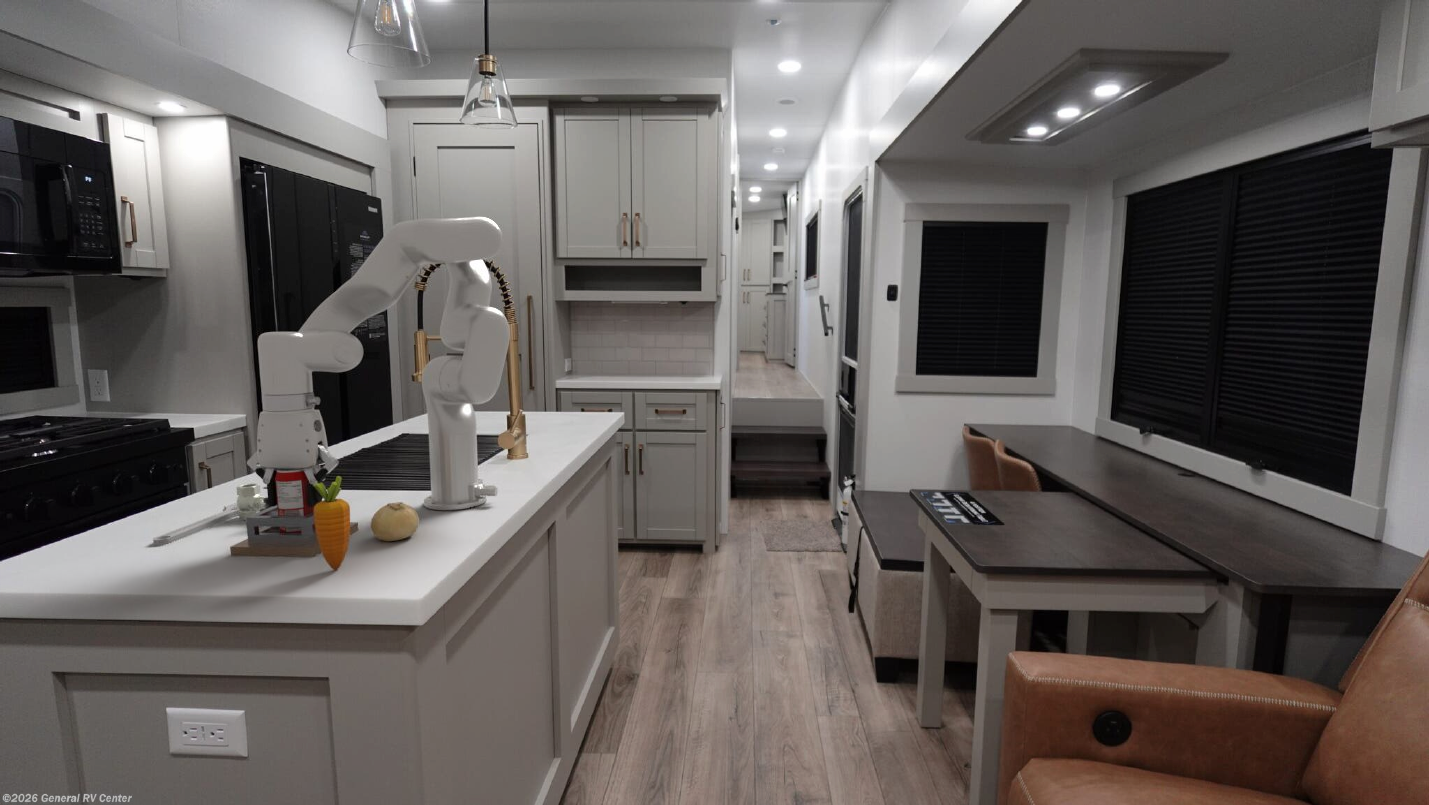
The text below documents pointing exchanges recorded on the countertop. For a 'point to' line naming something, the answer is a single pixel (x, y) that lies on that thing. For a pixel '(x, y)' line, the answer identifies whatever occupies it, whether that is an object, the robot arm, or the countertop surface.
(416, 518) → the onion
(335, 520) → the carrot
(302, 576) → the countertop surface
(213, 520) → the adjustable wrench
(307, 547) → the collar stand
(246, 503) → the valve
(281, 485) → the soda can
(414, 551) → the countertop surface
